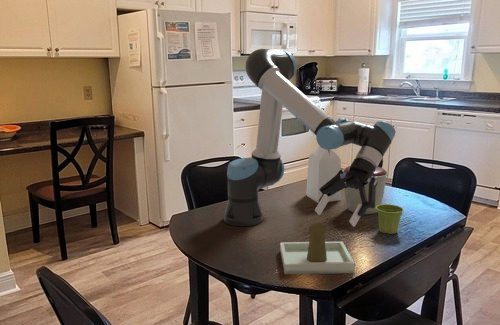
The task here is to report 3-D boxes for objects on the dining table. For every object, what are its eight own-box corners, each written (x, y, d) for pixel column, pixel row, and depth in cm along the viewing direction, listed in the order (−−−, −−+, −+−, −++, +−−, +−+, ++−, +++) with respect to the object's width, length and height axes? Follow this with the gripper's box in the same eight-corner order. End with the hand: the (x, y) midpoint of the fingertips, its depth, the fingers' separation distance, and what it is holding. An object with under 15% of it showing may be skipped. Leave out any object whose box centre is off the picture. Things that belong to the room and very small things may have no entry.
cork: (326, 264, 129) (327, 228, 126) (306, 262, 130) (306, 227, 128) (327, 255, 135) (328, 221, 132) (307, 254, 136) (307, 220, 133)
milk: (306, 195, 201) (307, 139, 196) (328, 192, 205) (330, 138, 199) (317, 202, 190) (319, 143, 185) (341, 200, 193) (343, 142, 188)
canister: (395, 214, 174) (399, 162, 169) (357, 220, 167) (360, 167, 163) (367, 201, 190) (370, 154, 186) (332, 207, 184) (333, 158, 179)
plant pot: (390, 225, 162) (391, 202, 161) (407, 233, 154) (409, 210, 152) (369, 228, 159) (370, 205, 157) (386, 237, 151) (387, 213, 149)
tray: (284, 274, 125) (284, 264, 124) (280, 251, 141) (280, 242, 140) (354, 273, 125) (354, 263, 124) (342, 250, 141) (342, 241, 140)
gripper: (404, 177, 134) (372, 235, 128) (339, 163, 153) (309, 214, 147) (395, 163, 129) (362, 222, 123) (330, 151, 148) (298, 202, 142)
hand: (333, 218), depth 135 cm, fingers open, 13 cm apart
